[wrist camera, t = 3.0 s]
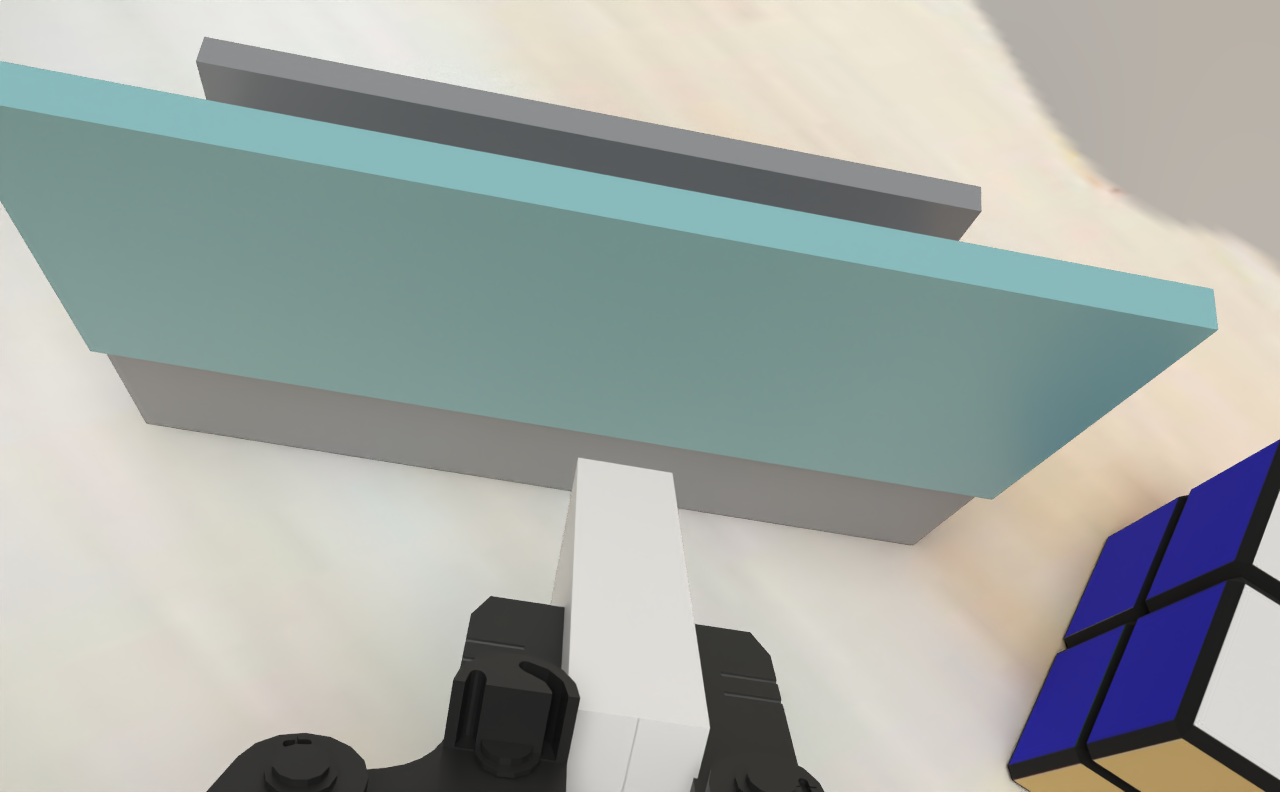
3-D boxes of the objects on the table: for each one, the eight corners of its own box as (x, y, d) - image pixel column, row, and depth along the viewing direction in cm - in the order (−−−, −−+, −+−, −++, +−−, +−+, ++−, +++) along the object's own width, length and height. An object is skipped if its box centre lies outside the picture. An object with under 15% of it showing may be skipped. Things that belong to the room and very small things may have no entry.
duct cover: (991, 468, 35) (992, 499, 34) (101, 319, 32) (90, 350, 32) (1213, 289, 25) (1218, 329, 25) (-45, 52, 22) (-64, 93, 22)
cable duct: (912, 545, 40) (987, 487, 35) (146, 423, 38) (98, 339, 32) (914, 274, 45) (980, 187, 40) (233, 149, 42) (204, 36, 37)
